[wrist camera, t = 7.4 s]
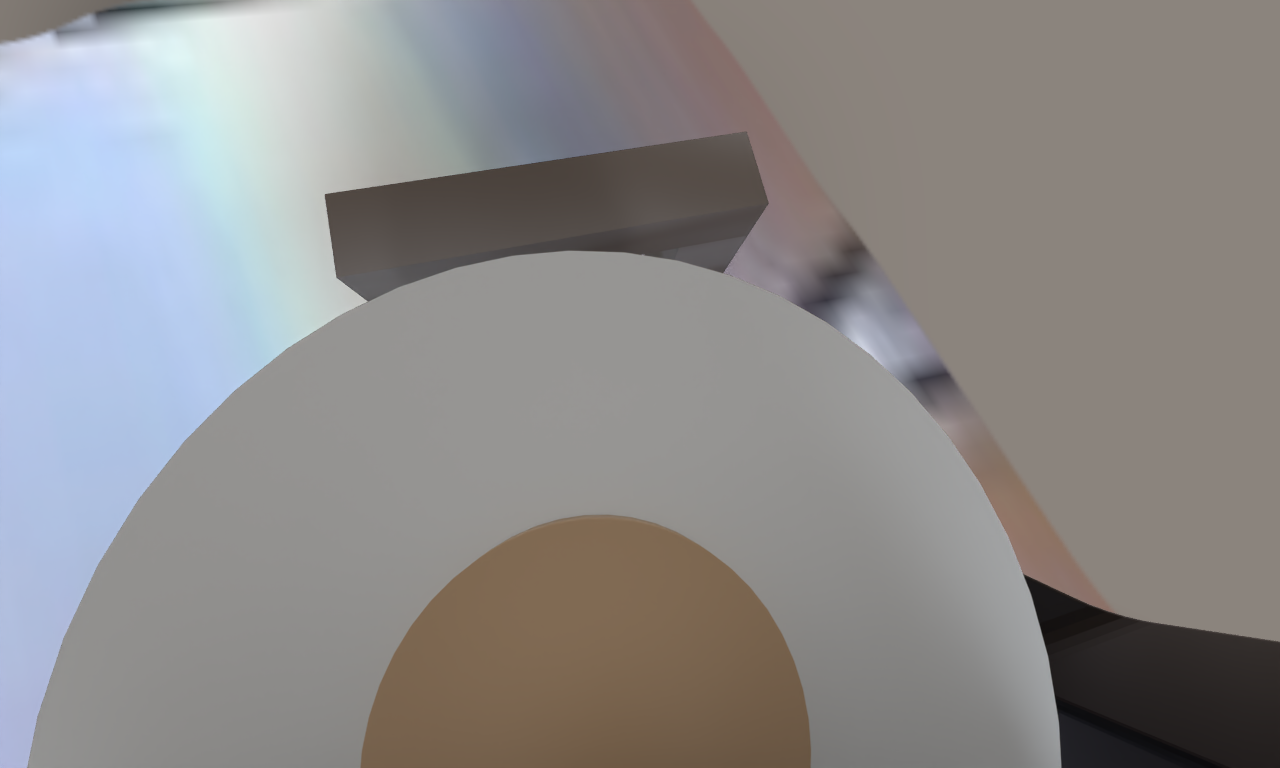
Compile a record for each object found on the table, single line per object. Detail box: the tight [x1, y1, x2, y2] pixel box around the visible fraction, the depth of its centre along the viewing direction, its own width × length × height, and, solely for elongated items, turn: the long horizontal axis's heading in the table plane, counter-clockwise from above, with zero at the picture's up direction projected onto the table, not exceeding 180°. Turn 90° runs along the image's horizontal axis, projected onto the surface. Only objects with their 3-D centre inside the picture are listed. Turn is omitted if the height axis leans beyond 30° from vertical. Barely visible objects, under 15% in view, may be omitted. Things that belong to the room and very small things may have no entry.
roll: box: [27, 251, 1061, 768], centre depth 9 cm, size 6×6×13 cm
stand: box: [325, 132, 768, 302], centre depth 14 cm, size 14×11×14 cm
